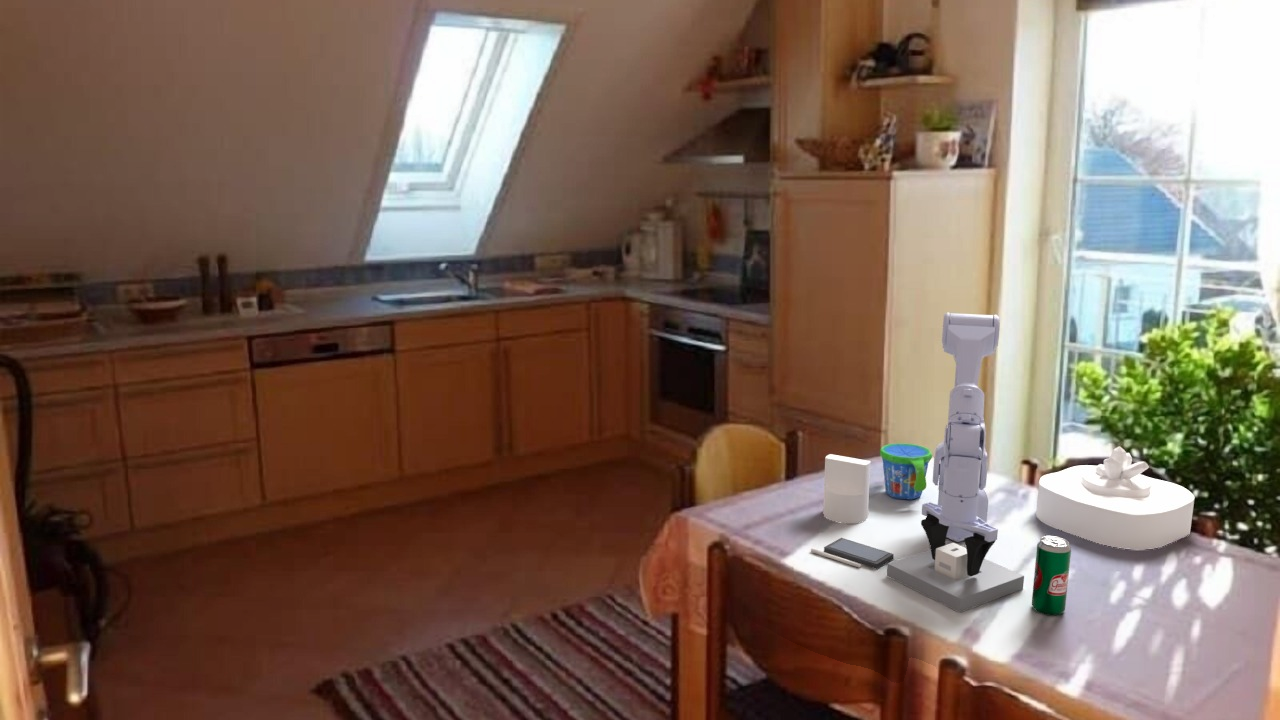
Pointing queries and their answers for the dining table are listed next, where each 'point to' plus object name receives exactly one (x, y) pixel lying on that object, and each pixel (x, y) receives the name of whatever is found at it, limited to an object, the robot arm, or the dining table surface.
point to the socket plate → (955, 581)
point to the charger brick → (952, 561)
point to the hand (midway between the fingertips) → (955, 566)
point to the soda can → (1051, 575)
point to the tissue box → (1115, 504)
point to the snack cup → (905, 469)
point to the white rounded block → (846, 489)
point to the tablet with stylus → (855, 554)
